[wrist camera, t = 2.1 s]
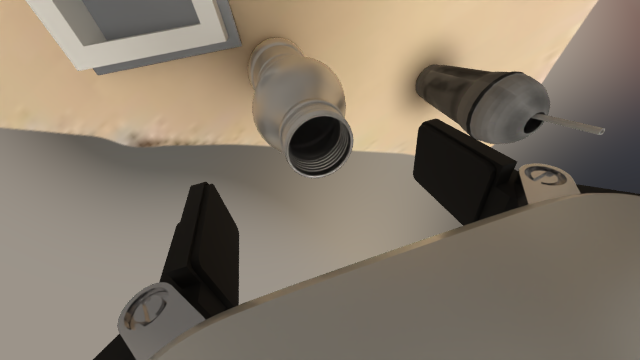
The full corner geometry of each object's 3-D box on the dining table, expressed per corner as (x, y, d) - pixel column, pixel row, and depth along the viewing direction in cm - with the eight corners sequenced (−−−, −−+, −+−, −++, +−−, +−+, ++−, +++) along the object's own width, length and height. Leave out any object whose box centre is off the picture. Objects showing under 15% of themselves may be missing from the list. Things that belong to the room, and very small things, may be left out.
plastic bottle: (244, 91, 28) (246, 197, 12) (251, 26, 24) (265, 59, 9) (296, 102, 30) (353, 202, 15) (309, 44, 27) (401, 95, 11)
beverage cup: (403, 110, 35) (530, 192, 20) (411, 56, 31) (584, 107, 15) (445, 102, 36) (597, 174, 21) (459, 49, 32) (666, 90, 16)
